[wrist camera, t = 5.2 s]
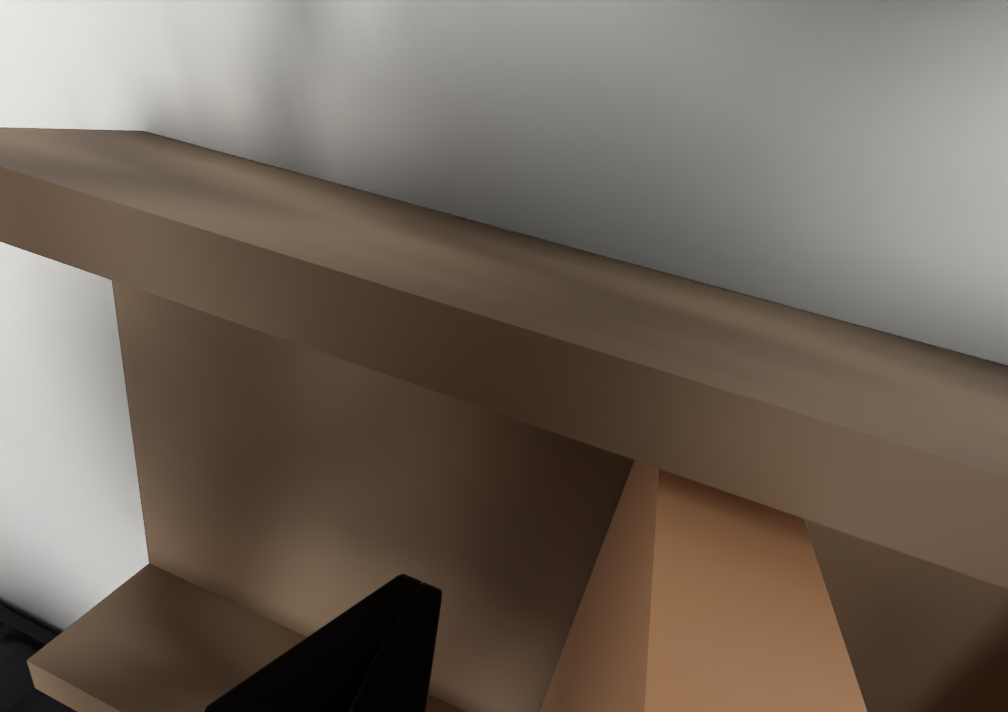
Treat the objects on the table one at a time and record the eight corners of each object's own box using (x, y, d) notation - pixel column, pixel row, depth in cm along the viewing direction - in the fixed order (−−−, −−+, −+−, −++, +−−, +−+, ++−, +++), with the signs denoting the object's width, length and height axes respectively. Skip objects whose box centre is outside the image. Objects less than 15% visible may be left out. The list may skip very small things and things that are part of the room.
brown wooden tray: (182, 563, 15) (35, 688, 12) (142, 130, 10) (-140, 124, 7) (821, 858, 12) (881, 1158, 8) (1237, 428, 7) (1834, 731, 3)
